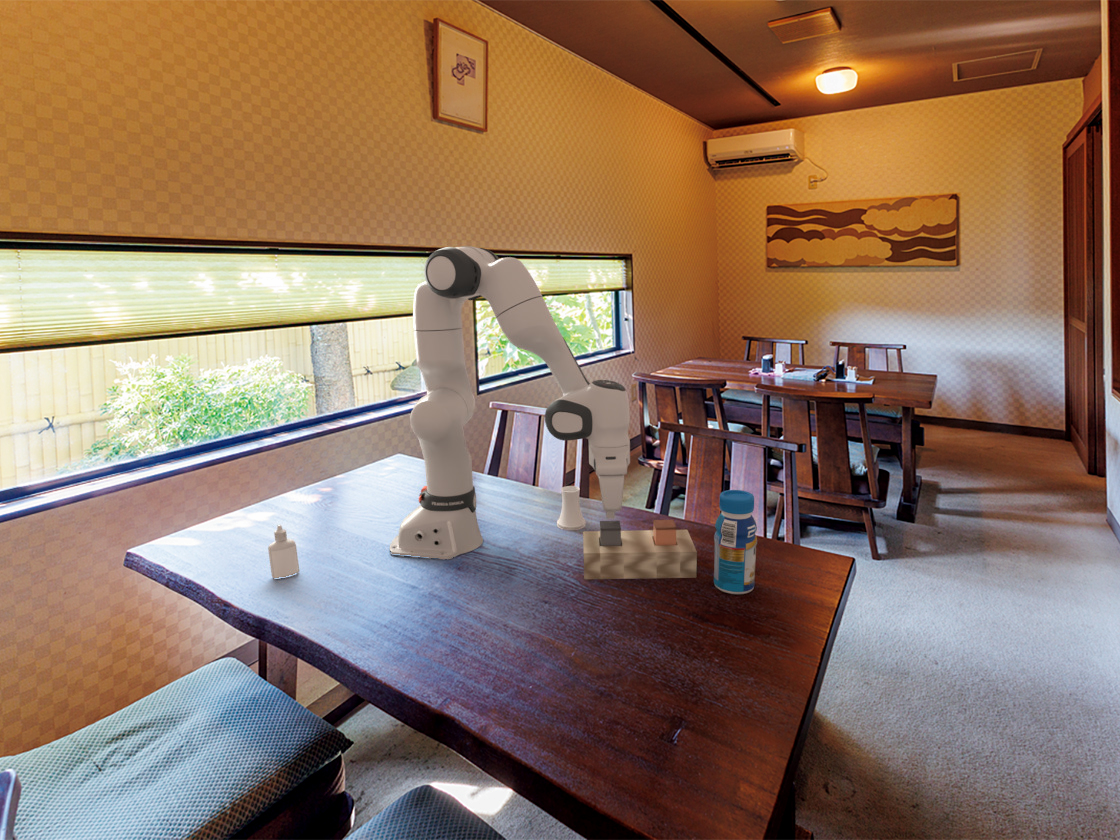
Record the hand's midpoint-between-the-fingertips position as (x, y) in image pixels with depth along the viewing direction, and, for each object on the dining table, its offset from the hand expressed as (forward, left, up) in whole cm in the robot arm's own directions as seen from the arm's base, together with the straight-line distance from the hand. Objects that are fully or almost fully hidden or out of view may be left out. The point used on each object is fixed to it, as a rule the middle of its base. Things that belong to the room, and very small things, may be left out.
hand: (610, 516), depth 139 cm
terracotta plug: (+12, 0, -8) cm, 14 cm away
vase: (-9, +25, -12) cm, 29 cm away
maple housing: (+6, 0, -12) cm, 13 cm away
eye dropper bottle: (-73, -2, -12) cm, 74 cm away
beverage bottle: (+25, -10, -12) cm, 30 cm away
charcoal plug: (0, 0, -8) cm, 8 cm away
